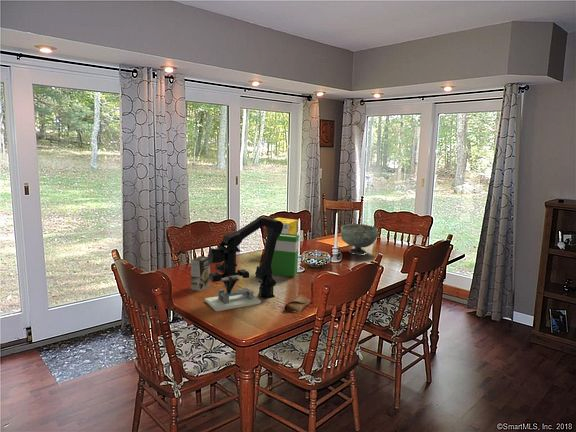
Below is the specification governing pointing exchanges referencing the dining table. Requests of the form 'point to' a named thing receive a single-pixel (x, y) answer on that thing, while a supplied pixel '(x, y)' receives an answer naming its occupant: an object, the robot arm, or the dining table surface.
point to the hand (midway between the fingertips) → (228, 292)
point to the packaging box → (289, 225)
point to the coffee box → (200, 273)
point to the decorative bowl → (358, 236)
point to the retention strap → (236, 292)
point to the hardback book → (285, 255)
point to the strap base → (232, 301)
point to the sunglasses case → (297, 303)
